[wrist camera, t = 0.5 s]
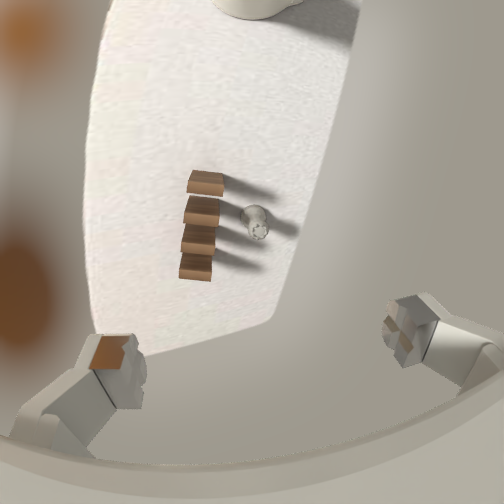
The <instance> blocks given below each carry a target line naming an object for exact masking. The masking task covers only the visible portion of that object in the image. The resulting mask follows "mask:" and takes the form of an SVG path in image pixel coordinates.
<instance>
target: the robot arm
mask: <svg viewBox="0 0 504 504" xmlns="http://www.w3.org/2000/svg"><path fill="white" fill-rule="evenodd" d="M212 2H213V3H214V4H215V6H216V7H218V8H219V9H220V10H221V11H223V12H225V13H226V14H228V15H231V16H234V17H237V18H241V19H249V20H256V19H264V18H268V17H271V16H274V15H276V14H278V13H279V12H281V11H282V10H283V9H285V8H286V7H288V6H292V5H297V4H300V3H302V2H303V0H212ZM386 312H387V313H388V316H387V317H386V319H385V320H384V321H383V325H382V337H383V339H384V342H385V343H386V345H387V346H388V347H389V348H391V349H393V350H394V357H395V358H396V360H397V361H398V362H399V364H400V365H401V367H402V368H406V367H409V366H412V365H415V364H418V363H421V362H422V363H423V364H424V365H426V366H428V367H429V368H431V369H432V370H434V371H435V372H437V373H439V374H440V375H442V376H444V377H445V378H447V379H449V380H450V381H452V382H454V383H455V384H457V385H459V386H460V387H461V389H460V390H459V392H458V393H457V395H456V397H455V398H453V399H452V400H450V401H448V402H446V403H444V404H442V405H440V406H437V407H435V408H433V409H431V410H429V411H427V412H424V413H423V414H420V415H418V416H415V417H413V418H411V419H408V420H406V421H403V422H401V423H398V424H396V425H393V426H390V427H388V428H385V429H382V430H379V431H376V432H373V433H371V434H368V435H364V436H361V437H358V438H355V439H351V440H349V441H345V442H341V443H338V444H334V445H330V446H326V447H322V448H318V449H313V450H309V451H305V452H300V453H295V454H289V455H284V456H278V457H273V458H265V459H259V460H250V461H243V462H231V463H218V464H198V465H160V464H140V463H127V462H117V461H109V460H101V459H96V457H94V455H92V454H91V452H90V451H88V450H87V448H86V447H87V446H88V445H89V443H90V442H91V440H93V438H94V437H95V436H96V435H97V434H98V432H99V431H100V430H101V429H102V428H103V426H104V425H105V424H106V423H107V421H108V420H109V419H110V417H112V415H113V414H114V413H115V412H116V409H141V407H142V401H143V395H144V392H143V390H142V388H141V386H142V385H143V384H144V383H145V382H146V377H147V370H146V362H145V358H144V356H143V354H142V353H141V352H140V351H138V350H137V348H138V344H139V343H138V340H137V338H136V336H135V335H134V334H133V333H128V334H91V335H89V336H88V338H87V340H86V342H85V344H84V346H83V349H82V351H81V353H80V355H79V357H78V360H77V362H76V365H75V367H74V369H69V370H67V371H66V372H65V373H64V374H62V375H61V376H60V377H58V378H57V379H56V380H55V381H54V382H52V383H51V384H49V385H48V386H47V387H46V388H44V389H43V390H42V391H41V392H39V393H38V394H37V395H35V396H34V397H33V398H32V399H30V400H29V401H28V402H27V403H25V404H24V405H23V406H22V407H21V408H20V410H19V412H18V415H17V417H16V420H15V422H14V425H13V427H12V430H11V432H10V435H9V438H8V437H5V436H3V435H0V504H504V333H501V332H499V331H496V330H494V329H491V328H488V327H485V326H483V325H480V324H478V323H475V322H472V321H470V320H467V319H464V318H462V317H459V316H456V315H454V316H451V314H450V313H449V312H448V311H447V310H446V309H444V307H442V306H441V305H440V304H439V303H438V302H437V301H436V300H435V299H434V298H433V297H432V296H431V295H430V294H429V293H427V292H421V293H418V294H414V295H411V296H407V297H403V298H399V299H394V300H390V301H389V303H388V304H387V308H386Z"/></svg>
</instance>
